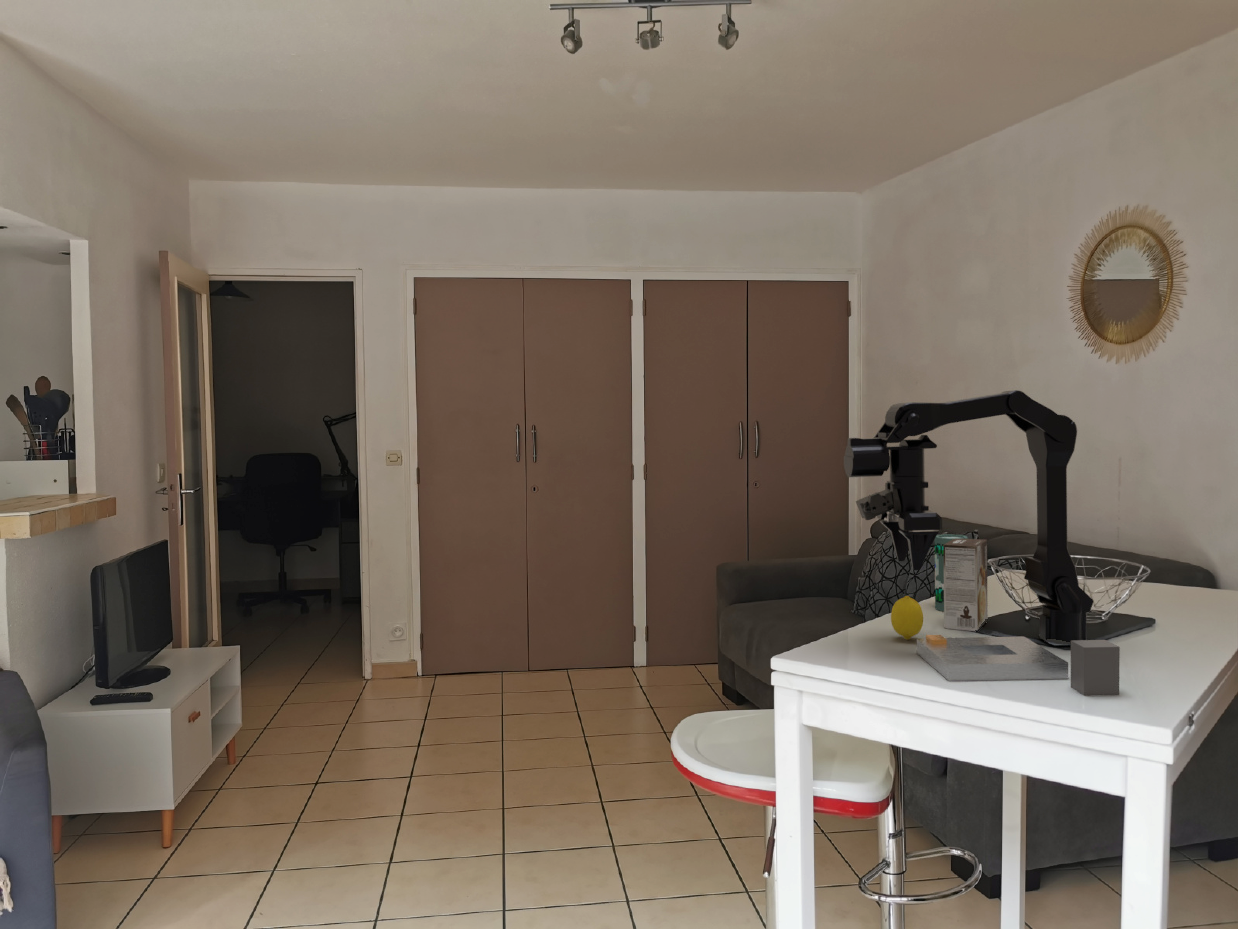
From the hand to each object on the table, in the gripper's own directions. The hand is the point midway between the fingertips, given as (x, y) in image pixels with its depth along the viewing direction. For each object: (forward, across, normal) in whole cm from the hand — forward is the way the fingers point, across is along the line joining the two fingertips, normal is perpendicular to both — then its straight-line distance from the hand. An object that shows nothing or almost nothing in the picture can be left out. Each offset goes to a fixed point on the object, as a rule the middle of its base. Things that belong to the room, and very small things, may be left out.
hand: (908, 565), depth 157 cm
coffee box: (+15, -15, +15) cm, 26 cm away
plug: (+15, +26, +19) cm, 35 cm away
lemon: (+15, -5, +1) cm, 16 cm away
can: (+15, -30, +17) cm, 37 cm away
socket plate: (+14, +12, +9) cm, 21 cm away
